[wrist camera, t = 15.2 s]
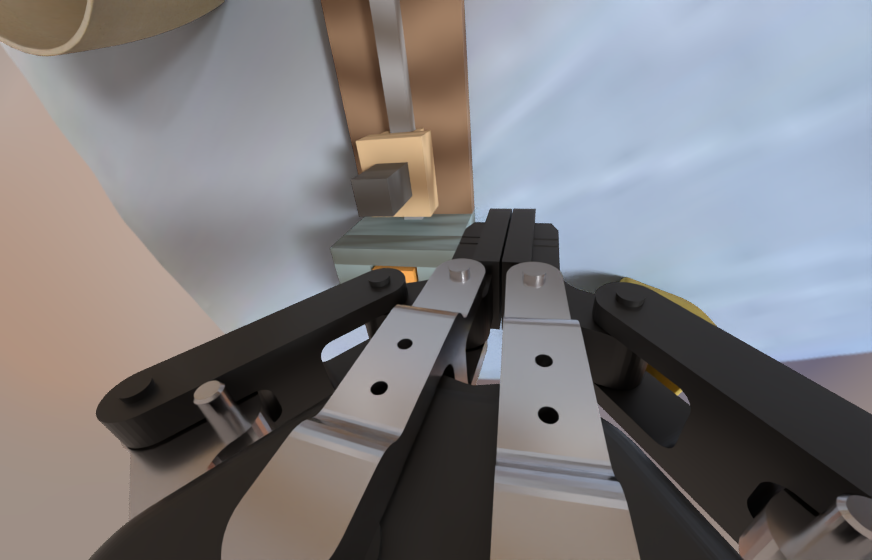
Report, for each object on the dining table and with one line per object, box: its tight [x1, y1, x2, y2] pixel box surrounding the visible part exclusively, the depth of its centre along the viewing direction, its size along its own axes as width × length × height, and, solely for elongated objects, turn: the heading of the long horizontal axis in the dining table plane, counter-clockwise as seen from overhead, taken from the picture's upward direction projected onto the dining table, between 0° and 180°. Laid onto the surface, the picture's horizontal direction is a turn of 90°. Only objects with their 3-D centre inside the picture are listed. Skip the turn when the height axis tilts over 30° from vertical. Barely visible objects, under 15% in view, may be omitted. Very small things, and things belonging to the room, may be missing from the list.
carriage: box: [351, 128, 438, 217], centre depth 31 cm, size 7×6×10 cm
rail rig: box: [321, 0, 475, 284], centre depth 32 cm, size 30×12×10 cm, turn 6°
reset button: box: [372, 266, 419, 283], centre depth 34 cm, size 4×4×3 cm
